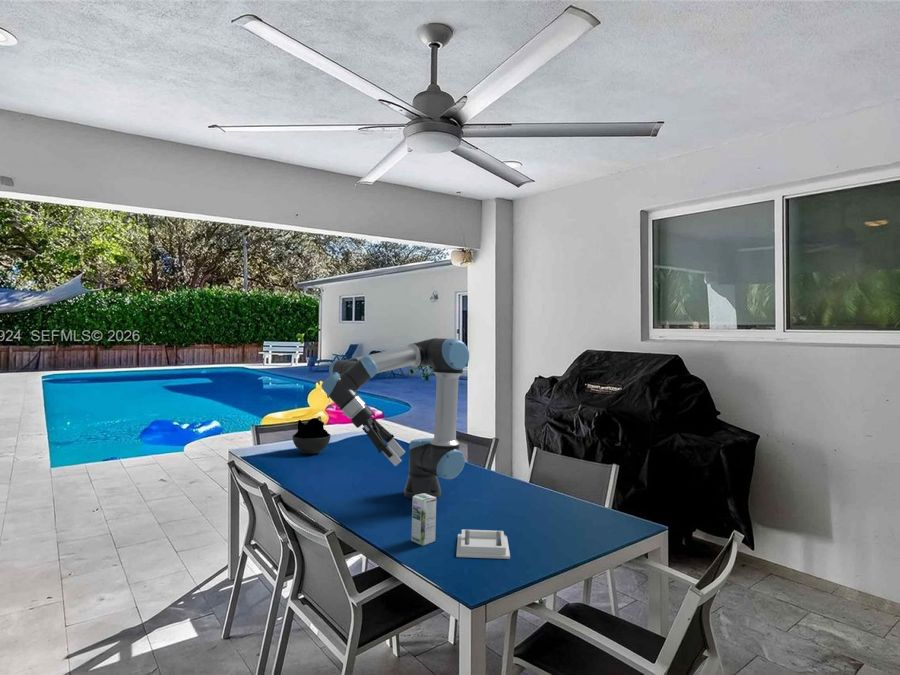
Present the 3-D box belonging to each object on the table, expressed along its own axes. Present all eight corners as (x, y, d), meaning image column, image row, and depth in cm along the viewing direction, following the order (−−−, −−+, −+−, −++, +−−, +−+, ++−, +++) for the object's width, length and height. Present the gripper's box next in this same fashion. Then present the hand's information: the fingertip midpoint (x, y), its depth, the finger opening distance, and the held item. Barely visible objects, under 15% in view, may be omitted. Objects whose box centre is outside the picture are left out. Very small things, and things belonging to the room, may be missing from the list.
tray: (458, 536, 174) (458, 521, 174) (506, 538, 174) (507, 523, 174) (456, 556, 158) (456, 540, 158) (510, 559, 158) (510, 542, 158)
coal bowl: (332, 449, 298) (333, 416, 298) (326, 458, 278) (327, 422, 278) (296, 449, 297) (297, 415, 296) (288, 458, 277) (288, 422, 276)
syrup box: (410, 540, 170) (411, 495, 170) (424, 536, 174) (425, 492, 174) (422, 546, 166) (423, 500, 166) (436, 541, 170) (437, 496, 170)
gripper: (356, 414, 191) (396, 458, 191) (342, 425, 166) (387, 475, 166) (372, 400, 191) (411, 444, 191) (360, 409, 166) (405, 459, 166)
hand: (400, 459), depth 178 cm, fingers open, 13 cm apart
